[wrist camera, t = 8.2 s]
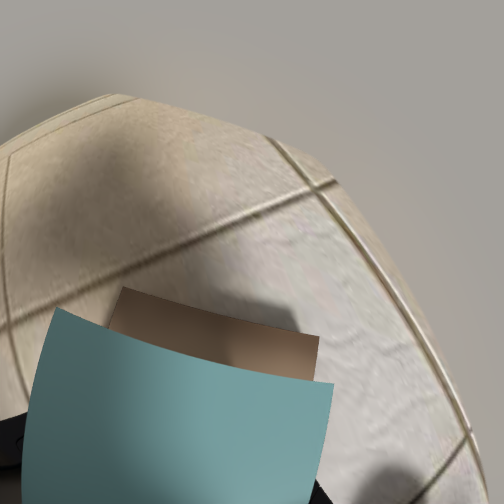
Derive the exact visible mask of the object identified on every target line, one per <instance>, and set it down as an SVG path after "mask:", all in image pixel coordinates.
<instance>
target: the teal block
mask: <svg viewBox="0 0 504 504" xmlns="http://www.w3.org/2000/svg"><path fill="white" fill-rule="evenodd" d="M333 388H334V384H332V383H323V382H315V381H308V380H301V379H294V378H288V377H282V376H276V375H270V374H265V373H260V372H255V371H250V370H245V369H240V368H236V367H232V366H227V365H223V364H219V363H215V362H211V361H207V360H203V359H199V358H195V357H192V356H188V355H185V354H181V353H178V352H174V351H171V350H168V349H165V348H161V347H158V346H155V345H152V344H149V343H146V342H143V341H140V340H137V339H134V338H131V337H129V336H126V335H123V334H120V333H118V332H115V331H112V330H110V329H107V328H105V327H102V326H100V325H97V324H95V323H92V322H90V321H87V320H85V319H83V318H80V317H78V316H76V315H73V314H71V313H69V312H67V311H65V310H62V309H60V308H58V307H56V309H55V312H54V315H53V317H52V320H51V323H50V326H49V329H48V332H47V335H46V338H45V341H44V345H43V348H42V351H41V355H40V359H39V362H38V366H37V370H36V374H35V378H34V382H33V387H32V391H31V396H30V401H29V407H28V413H27V419H26V426H25V434H24V443H23V455H22V478H21V490H22V504H308V503H309V500H310V496H311V493H312V489H313V486H314V482H315V478H316V474H317V470H318V466H319V462H320V457H321V453H322V448H323V444H324V439H325V434H326V429H327V424H328V418H329V413H330V407H331V401H332V395H333Z"/></svg>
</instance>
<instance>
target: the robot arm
mask: <svg viewBox="0 0 504 504" xmlns="http://www.w3.org/2000/svg"><path fill="white" fill-rule="evenodd" d="M27 413H28V412H25V413H23V414H20V415H18V416H15V417H12V418H9V419H5V420H2V421H0V504H22V490H21V478H22V455H23V443H24V434H25V426H26V419H27ZM319 486H320V485H319V483H318V482H317V480H316V479H315V482H314V486H313V489H312V493H311V496H310V500H309V503H308V504H333V503H332V501H331V500H330V499H329V497H328V496H327V495H326V493H325V492H324V490H323V489H322V487H319Z"/></svg>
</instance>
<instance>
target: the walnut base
mask: <svg viewBox="0 0 504 504" xmlns="http://www.w3.org/2000/svg"><path fill="white" fill-rule="evenodd" d="M108 329H110V330H112V331H115V332H118V333H120V334H123V335H126V336H129V337H131V338H134V339H137V340H140V341H143V342H146V343H149V344H152V345H155V346H158V347H161V348H165V349H168V350H171V351H174V352H178V353H181V354H185V355H188V356H192V357H195V358H199V359H203V360H207V361H211V362H215V363H219V364H223V365H227V366H232V367H236V368H240V369H245V370H250V371H255V372H260V373H265V374H270V375H276V376H282V377H288V378H294V379H301V380H308V381H313V378H314V372H315V366H316V359H317V352H318V345H319V336H314V335H309V334H304V333H298V332H293V331H289V330H284V329H279V328H274V327H270V326H265V325H261V324H256V323H252V322H248V321H244V320H239V319H235V318H231V317H227V316H223V315H219V314H215V313H211V312H208V311H204V310H200V309H196V308H193V307H189V306H186V305H182V304H179V303H175V302H172V301H168V300H165V299H161V298H158V297H155V296H152V295H148V294H145V293H142V292H139V291H136V290H132V289H129V288H126V287H123V288H122V291H121V294H120V296H119V299H118V302H117V304H116V307H115V310H114V313H113V316H112V319H111V321H110V324H109V327H108Z"/></svg>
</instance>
